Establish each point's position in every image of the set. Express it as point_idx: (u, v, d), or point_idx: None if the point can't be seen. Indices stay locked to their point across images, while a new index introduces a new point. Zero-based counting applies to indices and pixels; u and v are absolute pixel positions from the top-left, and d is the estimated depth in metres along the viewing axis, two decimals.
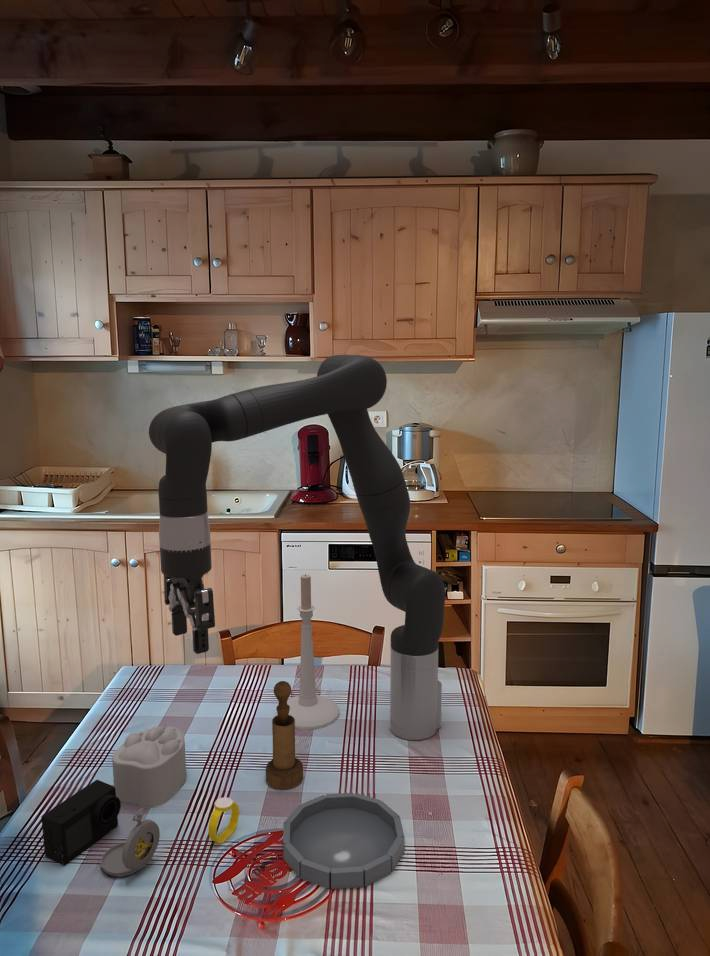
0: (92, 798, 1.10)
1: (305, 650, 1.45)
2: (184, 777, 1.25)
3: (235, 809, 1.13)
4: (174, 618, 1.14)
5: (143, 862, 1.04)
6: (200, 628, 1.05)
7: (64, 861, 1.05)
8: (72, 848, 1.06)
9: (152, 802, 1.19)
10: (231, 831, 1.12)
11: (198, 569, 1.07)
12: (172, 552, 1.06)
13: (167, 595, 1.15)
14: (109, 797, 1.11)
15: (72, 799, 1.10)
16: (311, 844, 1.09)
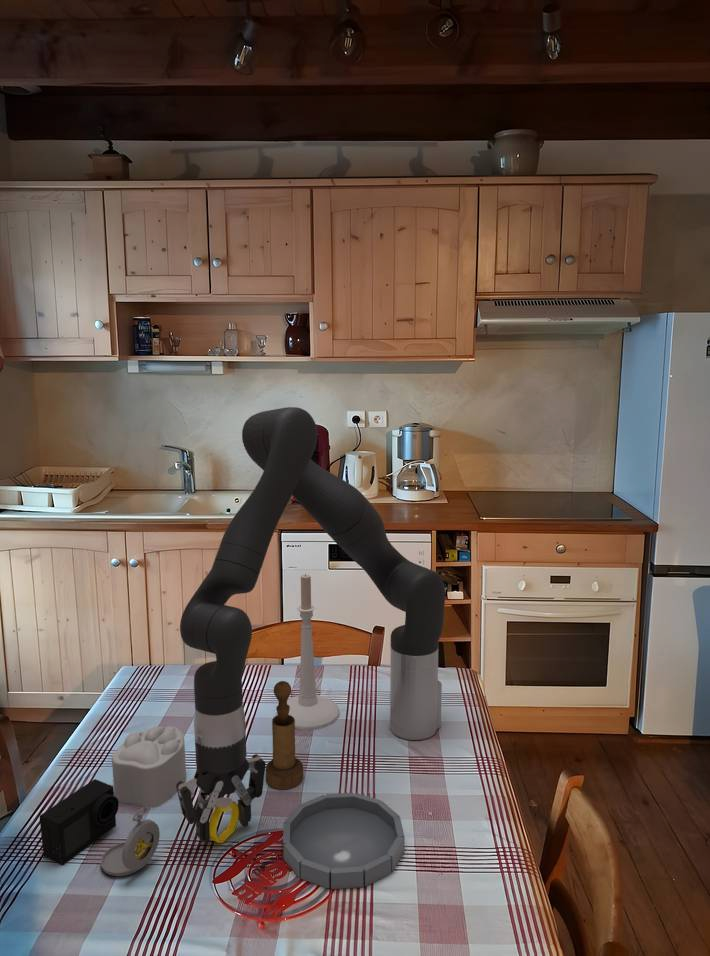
0: (90, 797, 1.10)
1: (305, 649, 1.45)
2: (184, 777, 1.25)
3: (235, 809, 1.13)
4: (208, 825, 1.09)
5: (143, 861, 1.04)
6: (261, 792, 1.13)
7: (62, 860, 1.06)
8: (70, 847, 1.06)
9: (152, 802, 1.19)
10: (231, 830, 1.12)
11: None
12: (243, 739, 1.07)
13: (193, 811, 1.07)
14: (107, 796, 1.11)
15: (70, 798, 1.10)
16: (311, 844, 1.09)
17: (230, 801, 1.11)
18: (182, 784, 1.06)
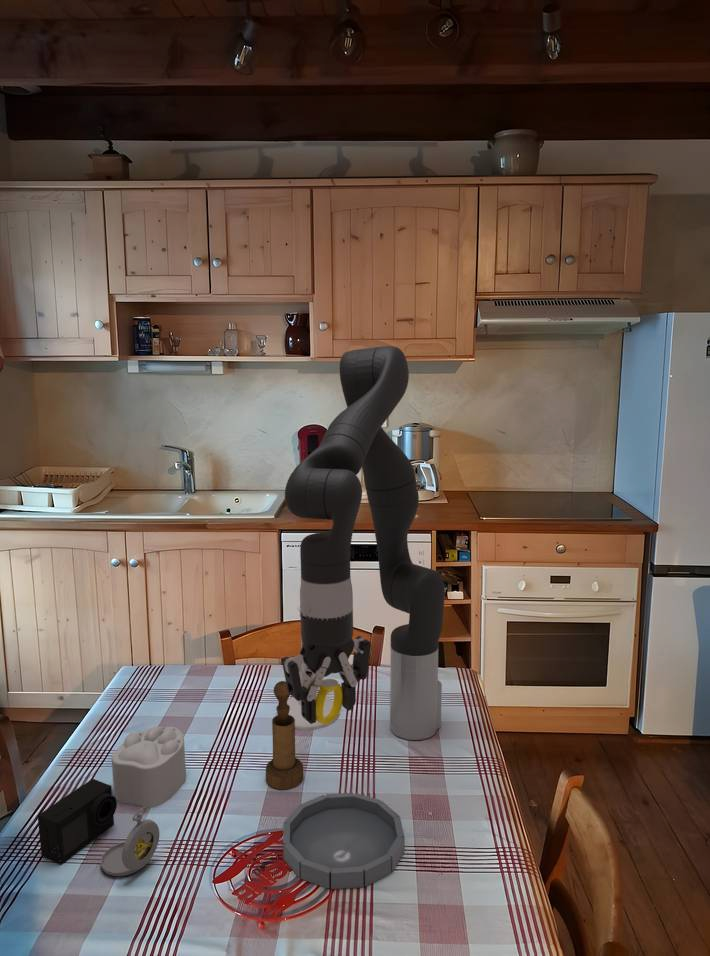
0: (88, 796, 1.10)
1: None
2: (184, 777, 1.25)
3: (339, 692, 1.08)
4: (314, 704, 1.04)
5: (143, 861, 1.04)
6: (366, 675, 1.08)
7: (61, 860, 1.06)
8: (69, 847, 1.07)
9: (152, 802, 1.19)
10: (335, 714, 1.07)
11: None
12: (351, 613, 1.02)
13: (301, 687, 1.02)
14: (105, 796, 1.11)
15: (68, 798, 1.10)
16: (311, 844, 1.09)
17: (335, 682, 1.06)
18: (289, 659, 1.01)
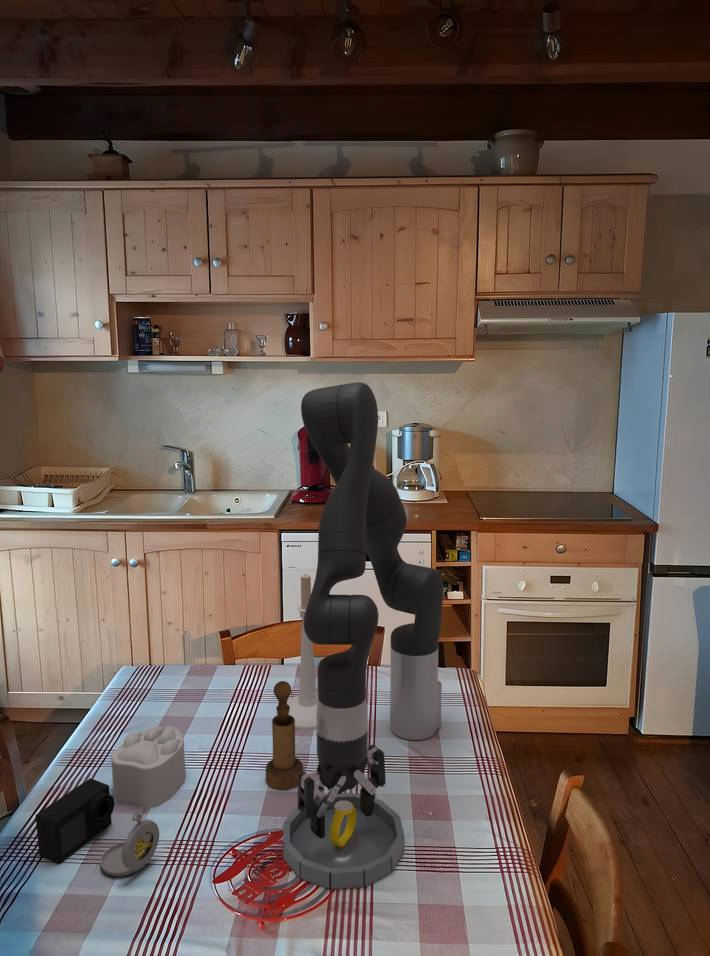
0: (86, 796, 1.11)
1: (305, 650, 1.45)
2: (183, 777, 1.25)
3: (352, 812, 1.11)
4: None
5: (143, 861, 1.04)
6: None
7: (59, 859, 1.06)
8: (66, 846, 1.07)
9: (151, 802, 1.19)
10: (349, 834, 1.11)
11: None
12: (366, 733, 1.05)
13: (312, 805, 1.04)
14: (103, 795, 1.11)
15: (66, 797, 1.10)
16: (311, 844, 1.09)
17: (350, 804, 1.09)
18: (306, 774, 1.04)
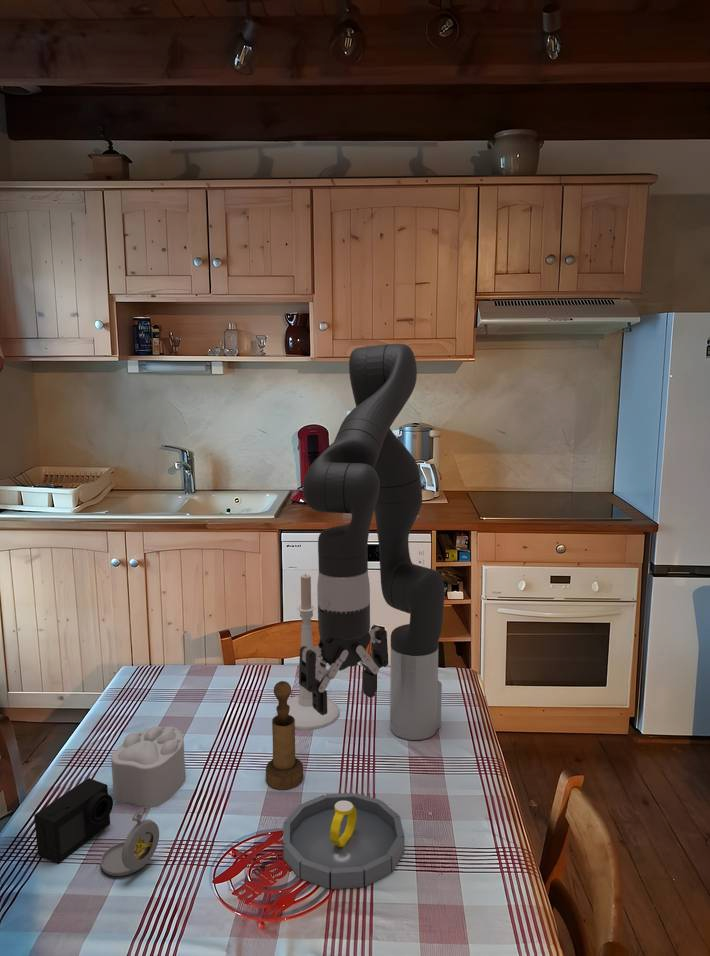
0: (84, 796, 1.11)
1: None
2: (183, 777, 1.25)
3: (352, 812, 1.11)
4: None
5: (143, 861, 1.04)
6: (387, 662, 1.09)
7: (57, 859, 1.06)
8: (65, 846, 1.07)
9: (151, 802, 1.19)
10: (349, 834, 1.11)
11: None
12: (369, 606, 1.03)
13: (314, 679, 1.01)
14: (101, 795, 1.11)
15: (65, 797, 1.10)
16: (311, 844, 1.09)
17: (350, 804, 1.09)
18: (307, 648, 1.02)
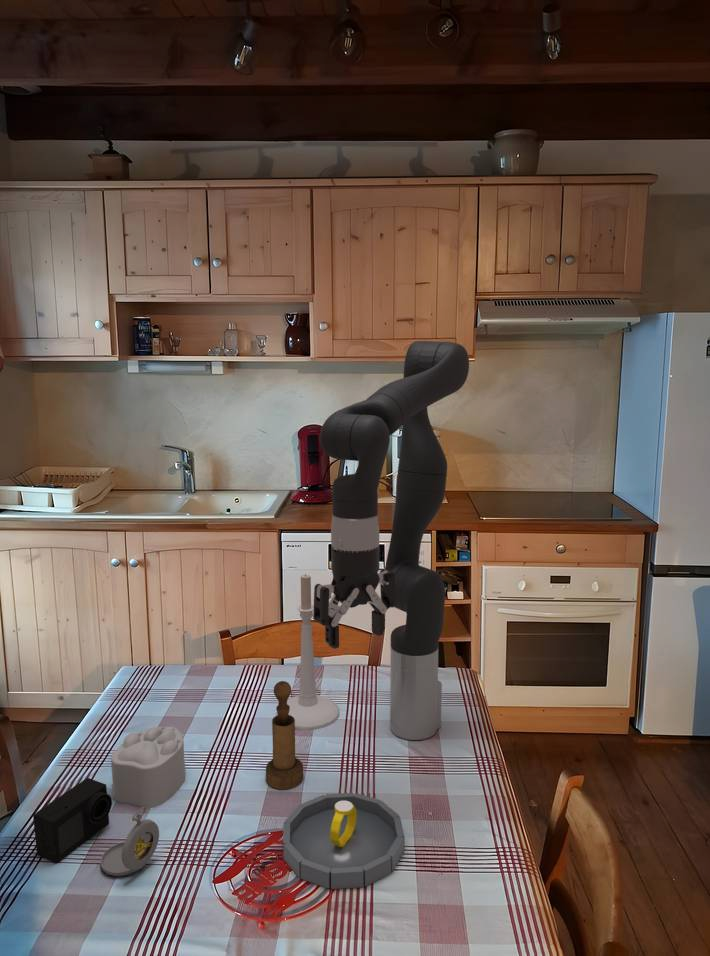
0: (83, 795, 1.11)
1: (305, 650, 1.45)
2: (183, 777, 1.25)
3: (352, 812, 1.11)
4: None
5: (143, 861, 1.04)
6: (395, 603, 1.18)
7: (56, 859, 1.06)
8: (64, 846, 1.07)
9: (151, 802, 1.19)
10: (349, 834, 1.11)
11: None
12: (378, 548, 1.12)
13: (327, 613, 1.10)
14: (100, 794, 1.11)
15: (64, 797, 1.10)
16: (311, 844, 1.09)
17: (350, 804, 1.09)
18: (322, 585, 1.10)
